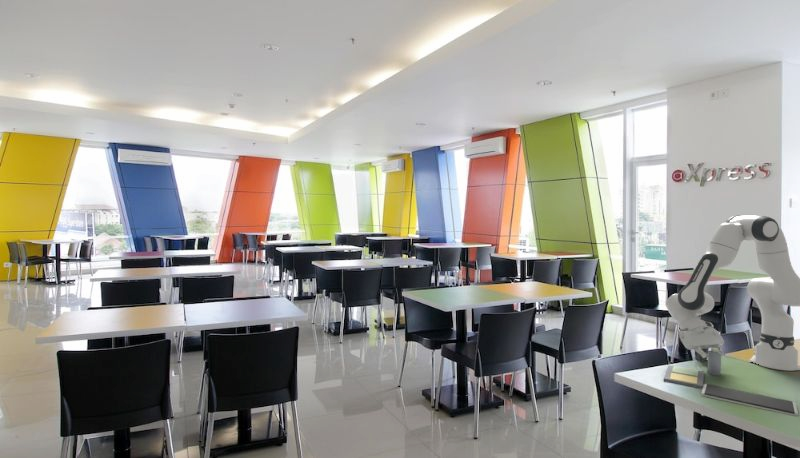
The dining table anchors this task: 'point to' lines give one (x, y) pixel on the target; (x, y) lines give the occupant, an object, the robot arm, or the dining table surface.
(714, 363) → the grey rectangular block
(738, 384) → the dining table surface
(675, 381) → the colour board
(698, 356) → the beverage cup
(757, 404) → the grey tray
